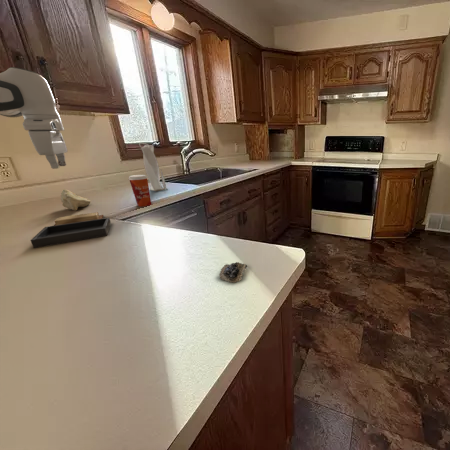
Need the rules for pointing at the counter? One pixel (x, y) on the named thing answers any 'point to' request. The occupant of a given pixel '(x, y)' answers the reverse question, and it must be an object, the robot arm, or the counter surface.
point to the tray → (71, 232)
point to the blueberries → (232, 272)
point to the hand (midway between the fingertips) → (59, 167)
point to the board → (76, 218)
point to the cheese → (73, 200)
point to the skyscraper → (152, 168)
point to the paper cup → (140, 189)
